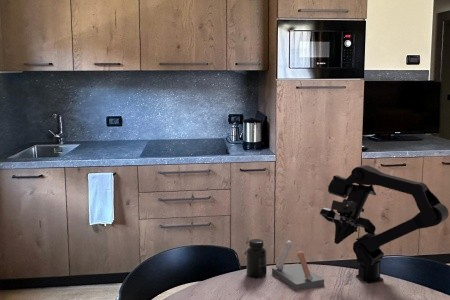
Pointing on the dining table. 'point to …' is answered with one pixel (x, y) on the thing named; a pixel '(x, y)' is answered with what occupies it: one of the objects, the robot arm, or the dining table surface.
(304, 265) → the terracotta lever
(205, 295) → the dining table surface
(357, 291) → the dining table surface
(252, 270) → the supplement bottle
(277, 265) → the pale grey lever
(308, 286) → the switch panel
